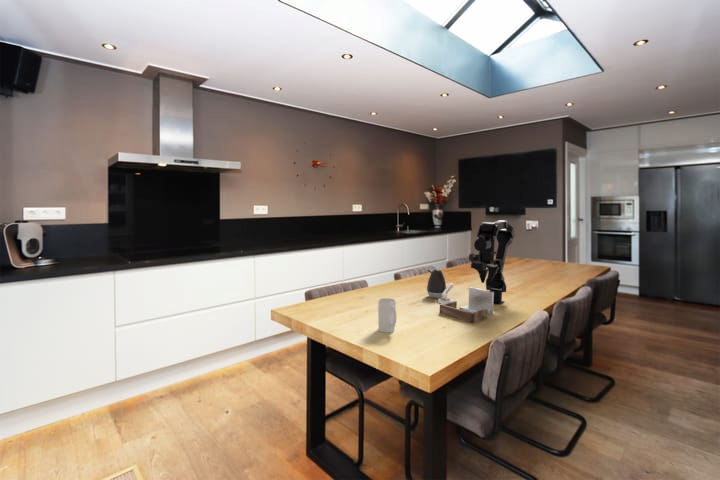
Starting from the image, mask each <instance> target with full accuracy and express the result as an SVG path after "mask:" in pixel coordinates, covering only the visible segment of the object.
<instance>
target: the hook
mask: <svg viewBox="0 0 720 480" xmlns="http://www.w3.org/2000/svg"><path fill="white" fill-rule="evenodd" d="M454 285H455V284H453V283H452V282H450V284H449V285H448V286H446V289H445V291H444V292H443V293H442V298H438V299H437V303H438V304H440V303H441V304H445V303H448V302H452V301H453V299H452V298H449V297H448V293H449V292H450V291H451V290H452V289H453V287H454ZM446 300H447V301H446ZM441 304H440V305H441Z"/></svg>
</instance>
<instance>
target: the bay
mask: <svg viewBox="0 0 720 480" xmlns="http://www.w3.org/2000/svg"><path fill="white" fill-rule="evenodd" d="M457 302H458V301H457V300H452V302H448V303H445V304H439V314H441V315H443V314H444V315H443V316H448V317H450V318H454V319H457V320H461V321H464V322H468V323H471V324H475V323H478V322H481V321H484V320H486V319H488V309H483V310H480V311H477V312H473V313H471V312H468V311H464V310H460V308H457V307H458V306H457V305H458V303H457Z"/></svg>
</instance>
